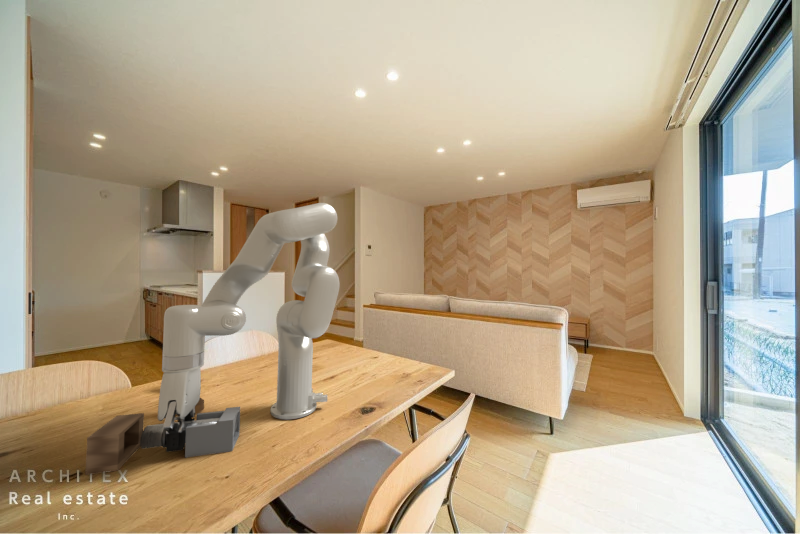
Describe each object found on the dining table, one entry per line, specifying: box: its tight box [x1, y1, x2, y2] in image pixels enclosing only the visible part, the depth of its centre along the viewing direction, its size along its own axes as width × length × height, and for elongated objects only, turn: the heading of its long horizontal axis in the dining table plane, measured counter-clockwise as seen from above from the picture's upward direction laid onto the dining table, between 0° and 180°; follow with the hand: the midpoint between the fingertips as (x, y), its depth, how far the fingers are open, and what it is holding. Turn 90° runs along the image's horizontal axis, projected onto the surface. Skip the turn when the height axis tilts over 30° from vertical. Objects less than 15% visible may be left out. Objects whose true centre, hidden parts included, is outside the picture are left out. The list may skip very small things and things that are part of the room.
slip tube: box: [140, 416, 237, 450], centre depth 65 cm, size 17×5×5 cm, turn 107°
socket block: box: [85, 412, 145, 476], centre depth 61 cm, size 5×9×7 cm, turn 17°
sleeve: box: [184, 406, 241, 458], centre depth 67 cm, size 9×7×7 cm
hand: (180, 442), depth 65 cm, fingers closed on slip tube, 4 cm apart
